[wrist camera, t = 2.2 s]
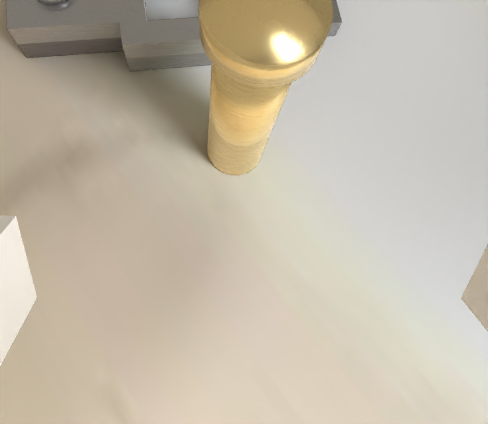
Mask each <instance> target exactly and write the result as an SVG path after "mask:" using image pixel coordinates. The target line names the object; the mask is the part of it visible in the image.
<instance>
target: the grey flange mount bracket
mask: <svg viewBox="0 0 488 424" xmlns="http://www.w3.org/2000/svg"><path fill="white" fill-rule="evenodd" d="M332 6H333V19H332V24H331V28H330V30H329V33H328V35H327V36H333V35H336V33H337V31H338V29H339V27H340V25H341V23H342V21H341V17H340V13H339V10H338V6H337V2H336V0H332ZM6 15H7V30H8V31H9V33H10V34H11V36H12V37H13V39H14V40H15V41H16V43H17V44H18V46H19V47H20V49H21V50H22V52H23V53H24V54H25V56H26V57H27V58H33V57H46V56H60V55H74V54H87V53H101V52H115V51H124V53H125V56H126V60H127V63H128V67H129V70H130V71H140V70H152V69H165V68H177V67H189V66H202V65H212V62H211V61H210V59H209V58H208V56H207V55H206V53H205V51H204V49H203V47H202V44H201V40H200V34H199V17H195V18H179V19H163V20H147V12H146V5H145V0H6Z"/></svg>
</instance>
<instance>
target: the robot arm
mask: <svg viewBox="0 0 488 424" xmlns="http://www.w3.org/2000/svg"><path fill="white" fill-rule="evenodd" d="M36 299H37V295H36V291H35V287H34V283H33V279H32V276H31V272H30V268H29V264H28V260H27V256H26V253H25V249H24V245H23V241H22V237H21V233H20V230H19V226H18V222H17V218H16V216H1V215H0V366H1V364H2V362H3V360H4V358H5V356H6V354H7V353H8V351H9V349H10V347H11V345H12V343H13V341H14V340H15V338H16V336H17V334H18V332H19V330H20V329H21V327H22V325H23V323H24V321H25V319H26V317H27V316H28V314H29V312H30V310H31V308H32V306H33V305H34V303H35V301H36ZM461 299H462V300H463V301H464V303H465V304H466V305H467V306H468V308H469V309H470V310H471V311H472V313H473V314H474V315H475V316H476V317H477V319H478V320H479V321H480V322H481V324H482V325H483V326H484V327H485V329H486V330H487V331H488V245H487V247H486V249H485V251H484V253H483V255H482V257H481V259H480V261H479V263H478V265H477V267H476V269H475V271H474V273H473V275H472V277H471V279H470V282H469V284H468V286H467V288H466V290H465V292H464V294H463V296H462V298H461Z"/></svg>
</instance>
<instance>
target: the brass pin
mask: <svg viewBox="0 0 488 424" xmlns="http://www.w3.org/2000/svg"><path fill="white" fill-rule="evenodd" d="M332 19H333V6H332V0H199V34H200V40H201V44H202V47H203V49H204V51H205V53H206V55H207V56H208V58H209V59H210V61H211V62H212V69H211V88H210V107H209V126H208V145H207V152H208V156H209V159H210V161H211V163H212V164H213V165H214V166H215V167H216V168H217V169H218V170H219V171H221V172H223V173H225V174H229V175H242V174H245V173H248V172H250V171H251V170H252V169H254V168H255V167H256V165H257V164H258V162H259V160H260V158H261V155H262V153H263V150H264V148H265V146H266V143H267V141H268V138H269V136H270V133H271V131H272V129H273V126H274V124H275V121H276V119H277V116H278V114H279V111H280V109H281V107H282V104H283V102H284V99H285V97H286V94H287V92H288V90H289V87H290V85H291V82H293V81H295V80H297V79H298V78H300V77H301V76H303V75H304V74H305V73H306V72H307V71H308V70H309V69H310V68H311V67H312V65H313V64H314V62H315V60H316V58H317V56H318V54H319V52H320V50H321V48H322V45H323V43H324V41H325V39H326V37H327V35H328V33H329V30H330V28H331V24H332Z"/></svg>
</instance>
